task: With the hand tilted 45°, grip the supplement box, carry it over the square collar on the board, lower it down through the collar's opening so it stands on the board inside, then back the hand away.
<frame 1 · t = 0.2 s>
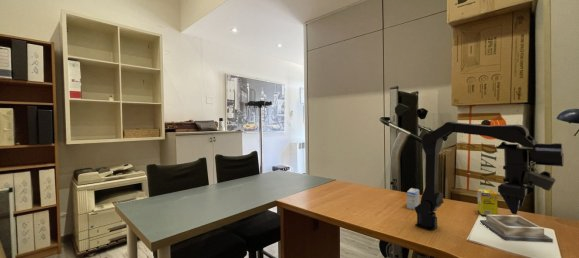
hand: (517, 210, 79), 15 cm above the table, tool pointing down, fingers open, 9 cm apart
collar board: (513, 231, 94), on the table
supplement box: (487, 215, 111), on the table
medicine box: (413, 207, 124), on the table
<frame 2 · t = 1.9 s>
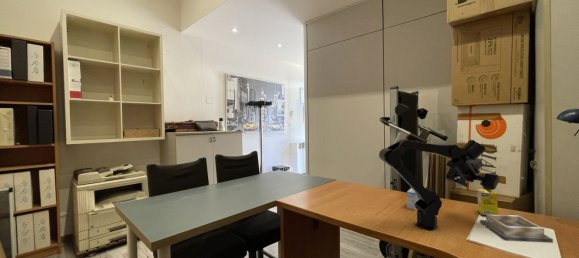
hand: (478, 189, 106), 13 cm above the table, tool tilted 45°, fingers open, 9 cm apart
nothing on the table moved.
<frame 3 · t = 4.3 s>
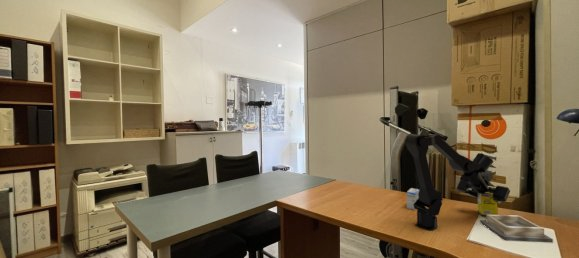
hand: (488, 199, 111), 7 cm above the table, tool tilted 45°, fingers closed on supplement box, 8 cm apart
supplement box: (487, 215, 111), on the table, touching gripper
everything else where it was.
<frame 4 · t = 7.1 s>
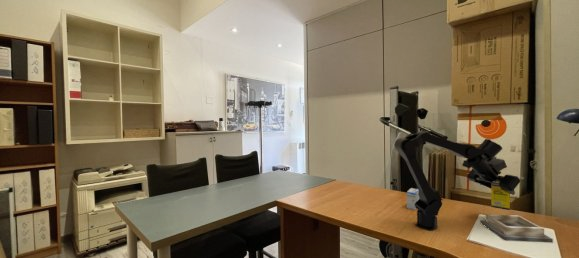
hand: (503, 191, 103), 13 cm above the table, tool tilted 45°, fingers closed on supplement box, 8 cm apart
supplement box: (500, 207, 103), point 6 cm above the table, touching gripper
everything else where it was.
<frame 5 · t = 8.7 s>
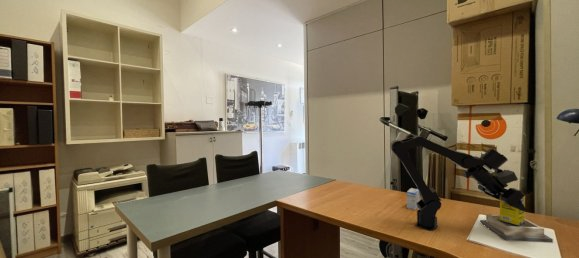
hand: (516, 206, 94), 10 cm above the table, tool tilted 45°, fingers closed on supplement box, 8 cm apart
supplement box: (512, 223, 94), point 3 cm above the table, touching gripper
everything else where it was.
when the fingers open (9 cm above the table, at t = 9.6 s): supplement box drops 1 cm, resting on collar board.
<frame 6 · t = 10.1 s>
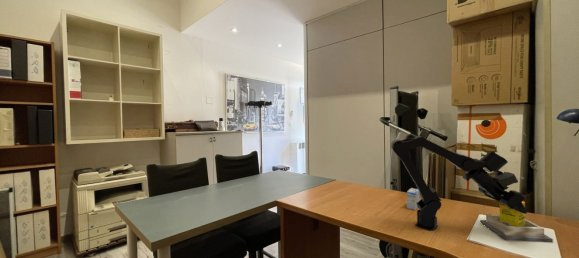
hand: (516, 208, 94), 9 cm above the table, tool tilted 45°, fingers open, 9 cm apart
supplement box: (512, 229, 94), point 1 cm above the table, touching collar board
everything else where it was.
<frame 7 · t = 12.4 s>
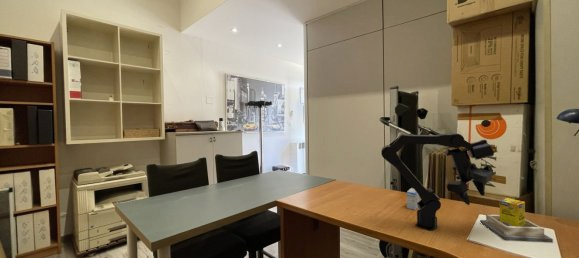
hand: (475, 199, 96), 12 cm above the table, tool tilted 15°, fingers open, 9 cm apart
nothing on the table moved.
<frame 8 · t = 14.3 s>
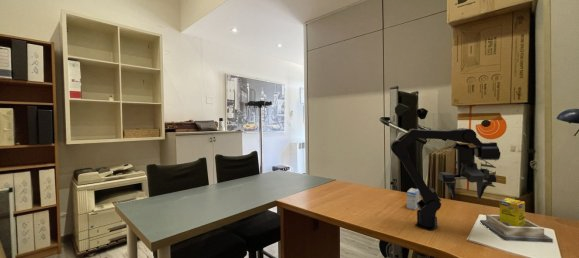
hand: (466, 198, 97), 13 cm above the table, tool pointing down, fingers open, 9 cm apart
nothing on the table moved.
at the end: supplement box 0.2 cm off-centre on the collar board, point 1.0 cm above the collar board's base; supplement box tilted 0°; the gripper is holding nothing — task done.
